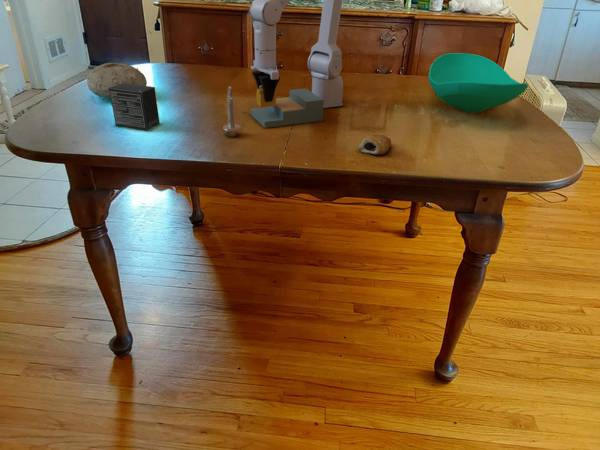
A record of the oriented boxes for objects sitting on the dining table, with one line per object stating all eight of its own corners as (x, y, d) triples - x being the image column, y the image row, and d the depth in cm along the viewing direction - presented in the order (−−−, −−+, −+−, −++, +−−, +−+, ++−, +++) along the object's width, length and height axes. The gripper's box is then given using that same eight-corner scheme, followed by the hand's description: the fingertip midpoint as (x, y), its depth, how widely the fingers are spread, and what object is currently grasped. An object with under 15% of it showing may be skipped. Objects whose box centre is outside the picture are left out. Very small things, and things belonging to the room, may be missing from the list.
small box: (161, 124, 127) (156, 86, 122) (147, 131, 122) (141, 92, 116) (129, 118, 130) (123, 81, 124) (114, 126, 125) (107, 87, 119)
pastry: (373, 140, 121) (375, 126, 119) (396, 146, 118) (399, 132, 116) (356, 151, 115) (358, 137, 113) (380, 158, 111) (382, 143, 109)
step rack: (305, 108, 142) (306, 88, 139) (322, 120, 133) (323, 99, 130) (250, 114, 136) (250, 94, 133) (264, 128, 127) (264, 106, 123)
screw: (222, 132, 123) (240, 131, 124) (223, 138, 119) (241, 138, 120) (219, 83, 116) (238, 83, 117) (220, 88, 112) (239, 88, 113)
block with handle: (271, 102, 132) (271, 82, 129) (276, 105, 129) (275, 86, 126) (256, 103, 130) (255, 84, 127) (260, 107, 128) (260, 87, 125)
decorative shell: (158, 91, 153) (153, 60, 148) (132, 108, 138) (126, 74, 133) (108, 87, 155) (102, 57, 150) (78, 103, 140) (70, 70, 135)
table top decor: (413, 90, 163) (419, 51, 156) (490, 92, 164) (500, 54, 156) (441, 129, 130) (450, 82, 123) (537, 132, 130) (552, 85, 123)
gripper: (242, 44, 126) (244, 93, 133) (260, 55, 115) (261, 108, 122) (266, 43, 128) (267, 91, 136) (286, 53, 117) (285, 105, 125)
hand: (266, 99), depth 129 cm, fingers closed on block with handle, 3 cm apart
